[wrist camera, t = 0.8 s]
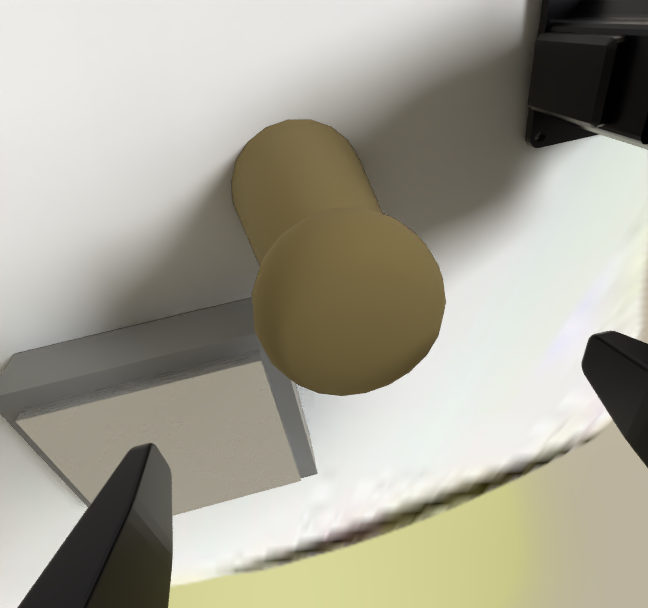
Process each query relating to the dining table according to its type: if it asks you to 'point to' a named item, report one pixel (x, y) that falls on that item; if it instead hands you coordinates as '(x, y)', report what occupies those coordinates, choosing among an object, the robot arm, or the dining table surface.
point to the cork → (332, 264)
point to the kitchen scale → (164, 406)
